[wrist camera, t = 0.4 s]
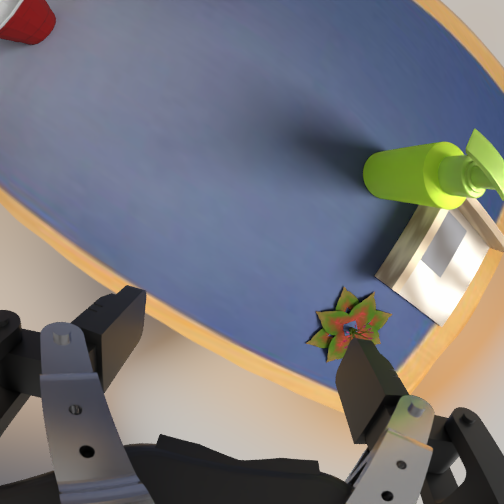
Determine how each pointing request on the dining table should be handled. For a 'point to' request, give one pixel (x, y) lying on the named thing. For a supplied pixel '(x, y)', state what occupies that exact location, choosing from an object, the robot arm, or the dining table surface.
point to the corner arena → (440, 256)
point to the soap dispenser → (436, 173)
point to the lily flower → (339, 317)
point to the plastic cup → (26, 20)
